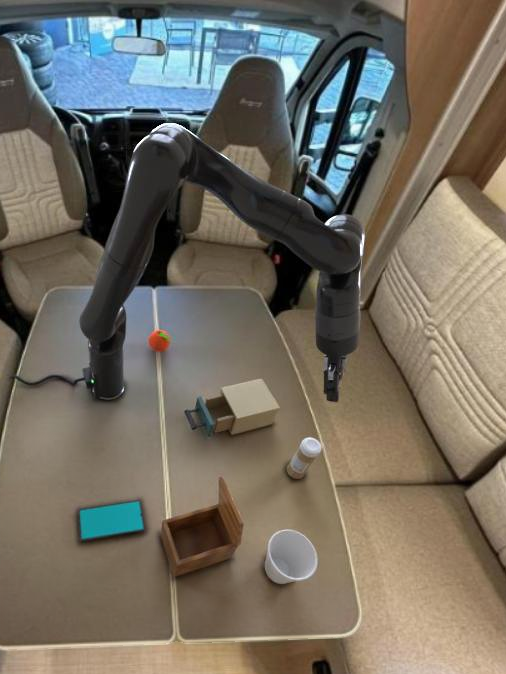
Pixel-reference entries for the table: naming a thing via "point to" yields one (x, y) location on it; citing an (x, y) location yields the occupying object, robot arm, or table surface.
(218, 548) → the chest
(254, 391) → the cabinet
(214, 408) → the drawer
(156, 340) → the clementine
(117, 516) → the smartphone
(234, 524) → the chest lid
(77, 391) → the table surface
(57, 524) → the table surface
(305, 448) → the sprinkles bottle
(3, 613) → the table surface
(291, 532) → the cup
